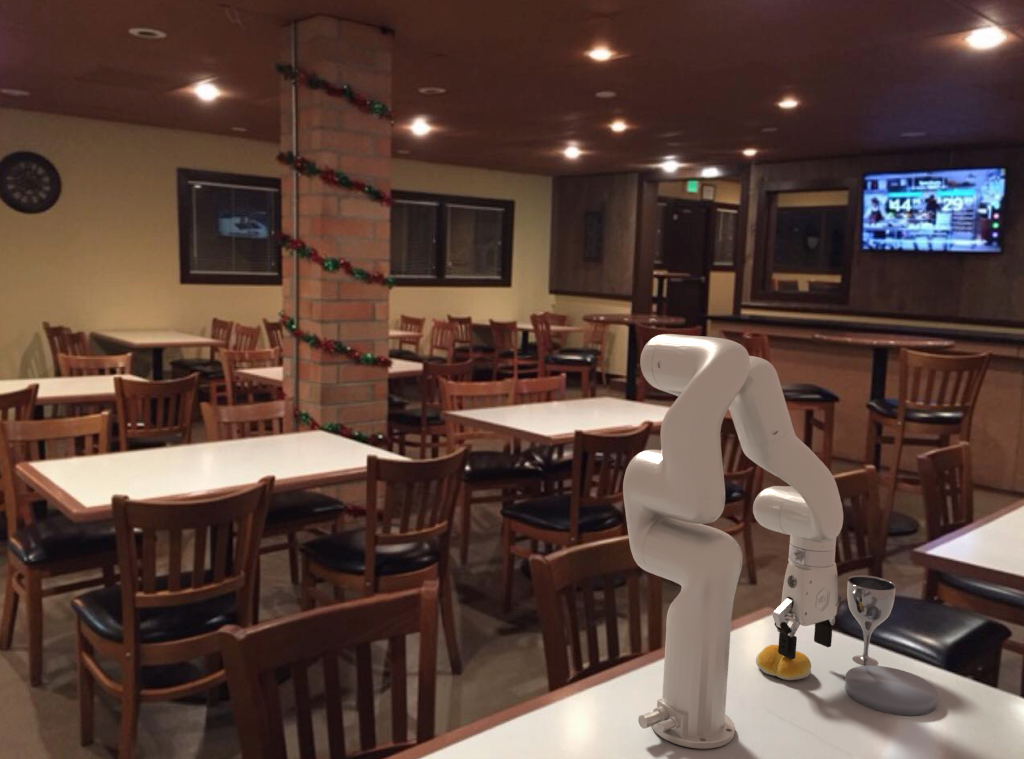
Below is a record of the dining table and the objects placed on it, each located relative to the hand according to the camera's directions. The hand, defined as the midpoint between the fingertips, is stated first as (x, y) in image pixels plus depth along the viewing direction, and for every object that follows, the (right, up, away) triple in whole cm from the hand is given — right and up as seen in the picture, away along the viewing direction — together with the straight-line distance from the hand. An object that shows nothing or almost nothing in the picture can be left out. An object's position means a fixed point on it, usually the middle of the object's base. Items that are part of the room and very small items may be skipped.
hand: (804, 650), depth 152 cm
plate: (+12, -5, -7) cm, 15 cm away
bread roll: (0, -5, 0) cm, 5 cm away
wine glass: (+13, -4, +6) cm, 15 cm away
